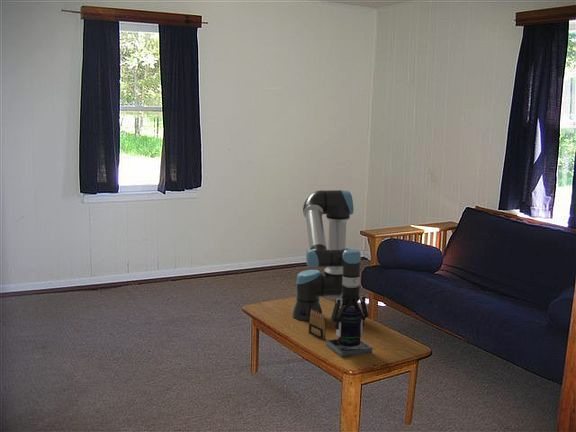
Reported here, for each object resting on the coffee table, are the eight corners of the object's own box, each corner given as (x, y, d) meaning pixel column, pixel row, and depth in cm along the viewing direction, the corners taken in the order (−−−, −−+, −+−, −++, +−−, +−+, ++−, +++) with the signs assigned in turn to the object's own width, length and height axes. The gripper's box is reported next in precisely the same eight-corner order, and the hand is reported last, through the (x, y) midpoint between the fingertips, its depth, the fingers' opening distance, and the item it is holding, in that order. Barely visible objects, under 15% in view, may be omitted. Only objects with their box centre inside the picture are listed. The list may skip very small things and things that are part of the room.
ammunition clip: (325, 339, 302) (326, 314, 300) (322, 340, 301) (323, 314, 299) (311, 332, 311) (312, 308, 309) (308, 333, 310) (309, 308, 308)
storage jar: (355, 338, 295) (356, 305, 293) (364, 345, 286) (365, 312, 284) (334, 340, 292) (335, 307, 290) (342, 347, 283) (343, 314, 281)
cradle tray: (325, 345, 294) (326, 340, 293) (355, 341, 300) (355, 336, 299) (341, 357, 280) (341, 351, 280) (372, 352, 286) (372, 347, 286)
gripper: (331, 290, 277) (330, 340, 281) (377, 285, 286) (376, 334, 290) (323, 285, 284) (322, 334, 288) (369, 280, 293) (367, 328, 297)
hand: (349, 334), depth 289 cm, fingers closed on storage jar, 10 cm apart
